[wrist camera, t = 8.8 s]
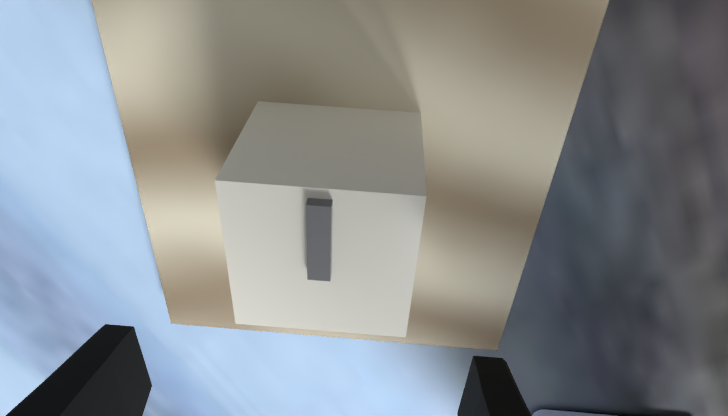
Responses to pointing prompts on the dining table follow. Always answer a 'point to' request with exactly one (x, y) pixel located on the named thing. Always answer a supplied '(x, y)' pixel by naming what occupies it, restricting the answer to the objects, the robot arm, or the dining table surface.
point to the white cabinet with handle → (324, 217)
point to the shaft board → (366, 91)
